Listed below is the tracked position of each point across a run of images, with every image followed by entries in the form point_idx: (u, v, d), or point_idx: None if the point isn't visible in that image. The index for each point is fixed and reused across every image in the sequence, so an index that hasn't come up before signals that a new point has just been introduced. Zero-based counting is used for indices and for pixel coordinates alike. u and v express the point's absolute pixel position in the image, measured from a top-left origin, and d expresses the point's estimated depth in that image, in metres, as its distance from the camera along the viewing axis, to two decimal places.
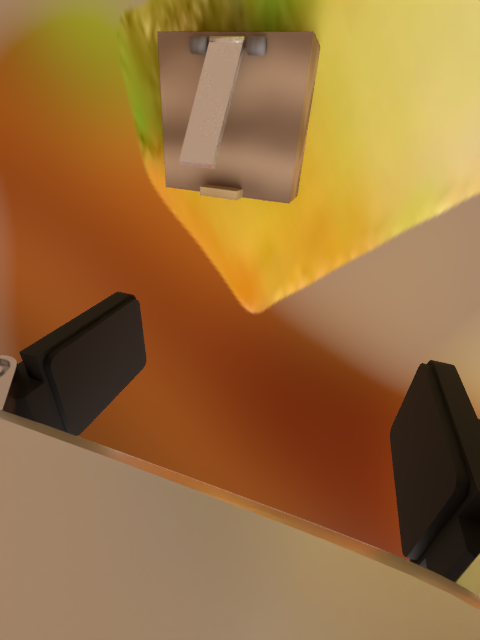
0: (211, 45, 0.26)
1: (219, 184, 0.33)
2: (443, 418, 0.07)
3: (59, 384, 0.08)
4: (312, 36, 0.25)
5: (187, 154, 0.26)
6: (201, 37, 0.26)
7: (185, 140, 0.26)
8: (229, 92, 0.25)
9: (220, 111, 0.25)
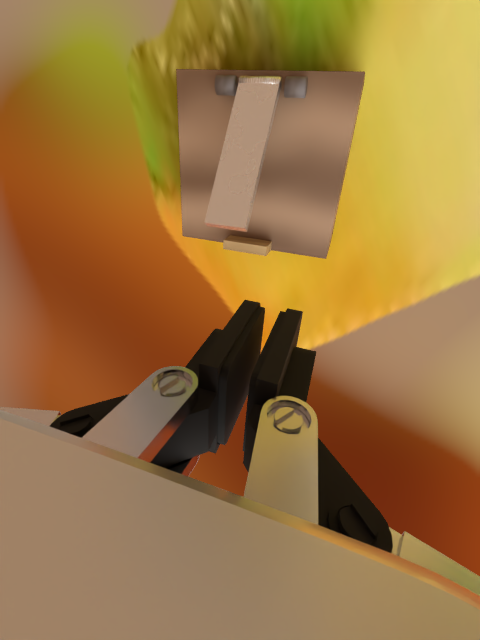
0: (241, 86, 0.22)
1: (244, 235, 0.29)
2: (269, 343, 0.09)
3: (227, 394, 0.08)
4: (363, 76, 0.21)
5: (214, 215, 0.22)
6: (229, 77, 0.22)
7: (212, 198, 0.22)
8: (265, 142, 0.21)
9: (253, 164, 0.21)
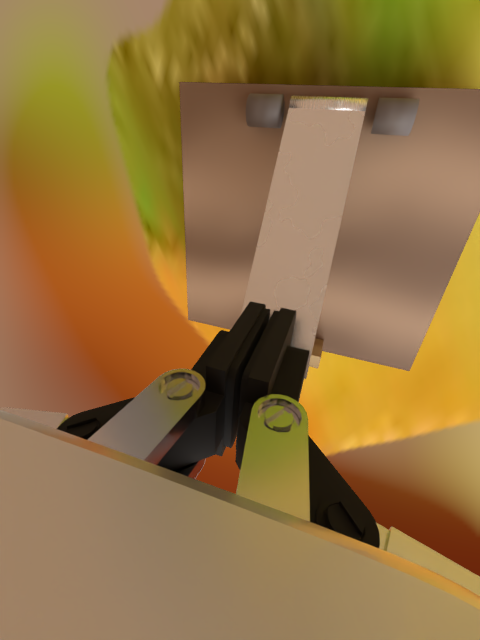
0: (294, 115, 0.13)
1: None
2: (261, 342, 0.09)
3: (234, 397, 0.08)
4: None
5: None
6: (272, 98, 0.13)
7: None
8: (340, 219, 0.12)
9: (320, 259, 0.12)
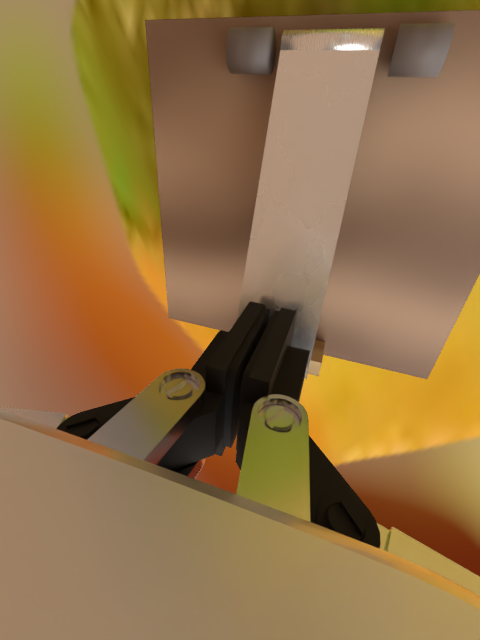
0: (287, 61, 0.10)
1: None
2: (262, 342, 0.09)
3: (234, 397, 0.08)
4: None
5: None
6: (260, 31, 0.10)
7: None
8: (344, 205, 0.10)
9: (320, 254, 0.11)
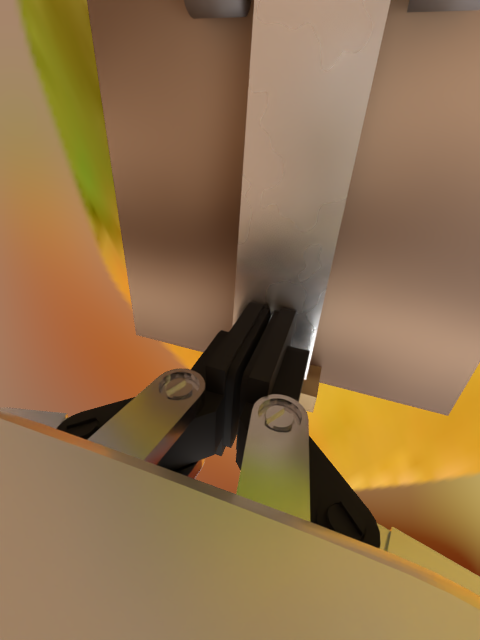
0: (266, 5, 0.07)
1: None
2: (262, 342, 0.09)
3: (233, 397, 0.08)
4: None
5: None
6: None
7: (236, 320, 0.11)
8: (344, 204, 0.08)
9: (317, 260, 0.09)
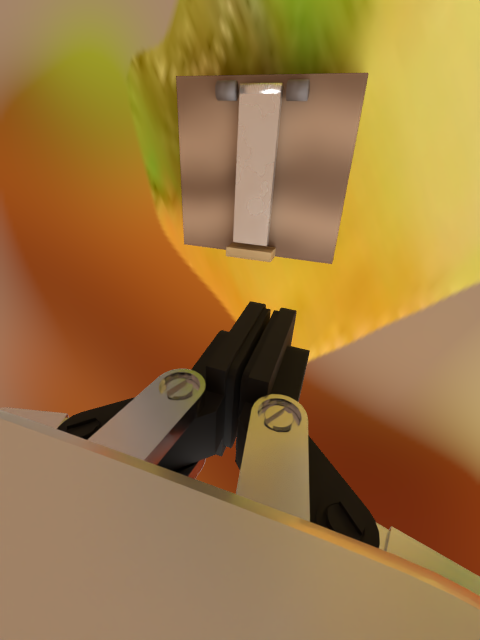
0: (243, 98, 0.22)
1: None
2: (261, 342, 0.09)
3: (234, 397, 0.08)
4: (366, 78, 0.20)
5: (240, 235, 0.26)
6: (230, 82, 0.22)
7: (235, 220, 0.26)
8: (273, 164, 0.23)
9: (266, 187, 0.24)
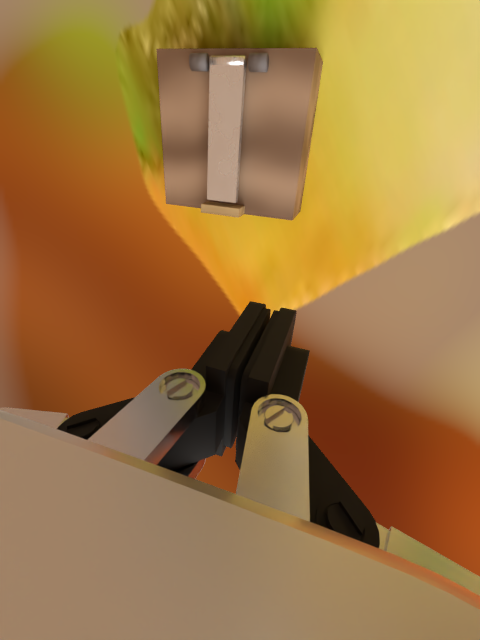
0: (212, 69, 0.26)
1: (220, 201, 0.32)
2: (261, 341, 0.09)
3: (234, 397, 0.08)
4: (315, 52, 0.24)
5: (213, 193, 0.30)
6: (201, 54, 0.26)
7: (208, 179, 0.30)
8: (239, 128, 0.27)
9: (234, 149, 0.28)
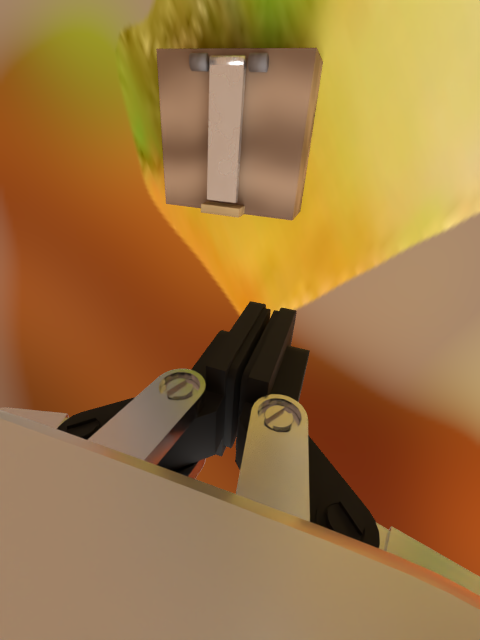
0: (212, 69, 0.26)
1: (220, 201, 0.32)
2: (261, 341, 0.09)
3: (234, 397, 0.08)
4: (315, 52, 0.24)
5: (212, 193, 0.30)
6: (201, 54, 0.26)
7: (208, 179, 0.30)
8: (239, 128, 0.27)
9: (234, 149, 0.28)
